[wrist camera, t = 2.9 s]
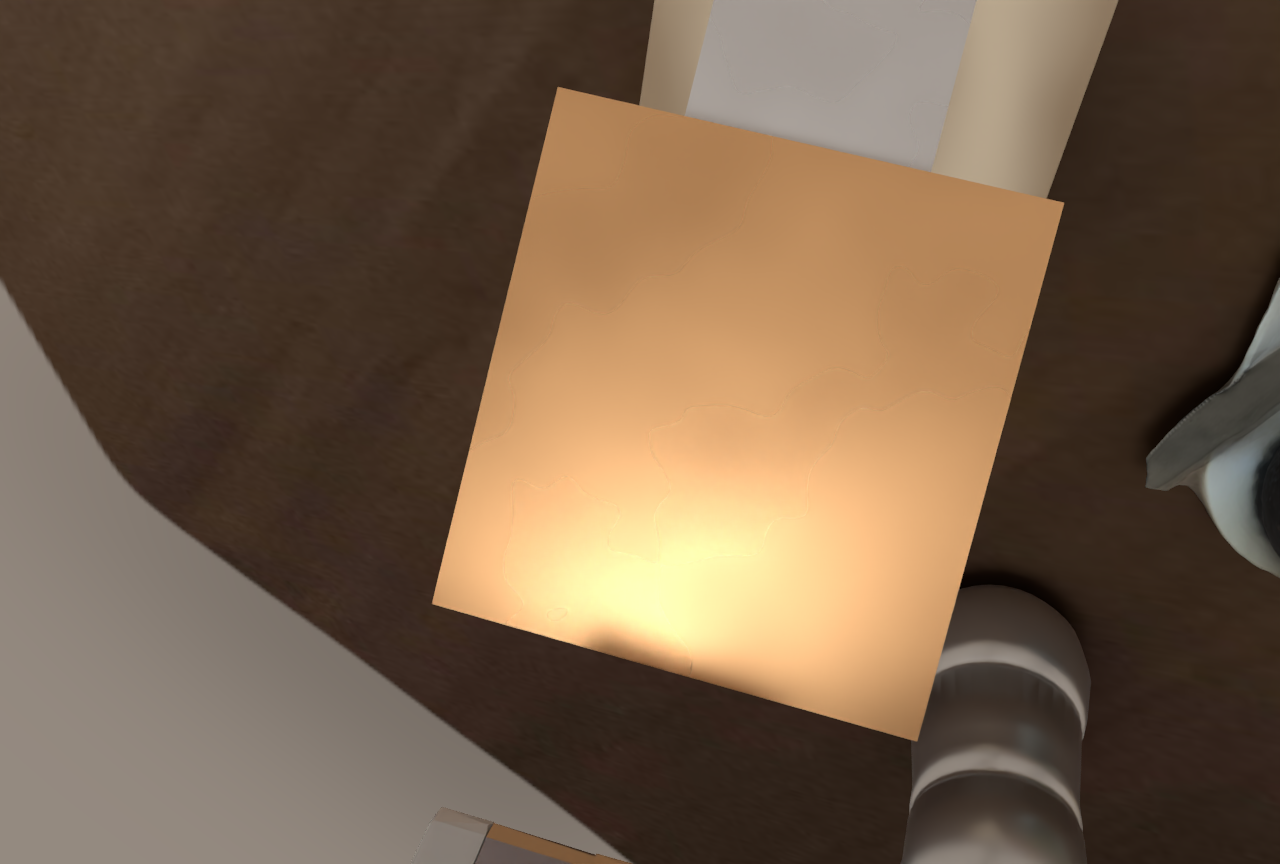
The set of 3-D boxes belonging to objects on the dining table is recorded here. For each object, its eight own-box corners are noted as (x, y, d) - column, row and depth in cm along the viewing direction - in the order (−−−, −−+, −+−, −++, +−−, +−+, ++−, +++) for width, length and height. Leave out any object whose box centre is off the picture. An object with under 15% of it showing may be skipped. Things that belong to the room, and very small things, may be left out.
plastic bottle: (1038, 537, 43) (1057, 1086, 27) (1117, 669, 46) (1178, 1247, 30) (875, 592, 47) (807, 1113, 30) (958, 713, 49) (934, 1256, 33)
